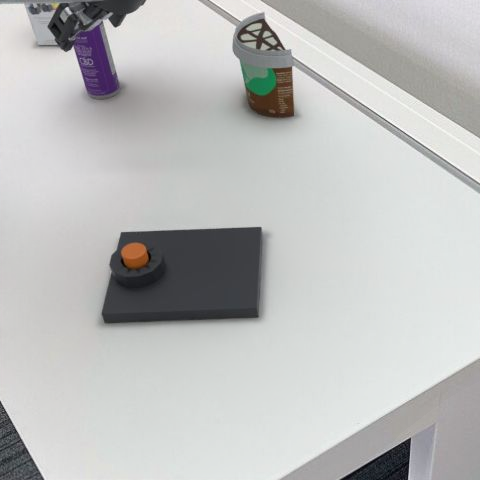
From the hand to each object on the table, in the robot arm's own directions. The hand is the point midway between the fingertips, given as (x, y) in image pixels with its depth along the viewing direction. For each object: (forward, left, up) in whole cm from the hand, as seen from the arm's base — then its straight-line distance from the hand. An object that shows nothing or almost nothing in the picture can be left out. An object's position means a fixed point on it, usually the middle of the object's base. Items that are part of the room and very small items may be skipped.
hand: (87, 32), depth 103 cm
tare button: (+11, -40, -6) cm, 42 cm away
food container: (+23, -5, -9) cm, 25 cm away
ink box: (-10, +18, -9) cm, 22 cm away
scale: (+16, -40, -9) cm, 44 cm away
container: (0, 0, -9) cm, 9 cm away
